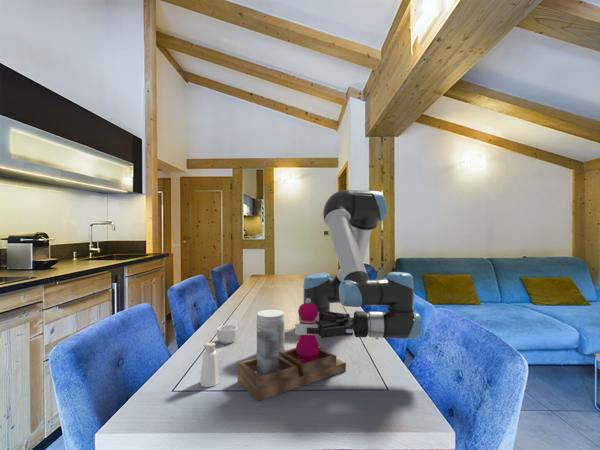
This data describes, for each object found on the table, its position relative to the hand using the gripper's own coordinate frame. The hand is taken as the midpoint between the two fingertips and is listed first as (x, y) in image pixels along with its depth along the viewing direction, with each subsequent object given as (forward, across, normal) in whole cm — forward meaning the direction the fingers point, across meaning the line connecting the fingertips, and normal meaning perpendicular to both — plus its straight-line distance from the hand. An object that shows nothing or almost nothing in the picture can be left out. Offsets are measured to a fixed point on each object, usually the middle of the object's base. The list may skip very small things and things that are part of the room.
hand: (297, 322), depth 100 cm
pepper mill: (-3, 0, -13) cm, 13 cm away
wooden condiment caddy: (+1, -3, -15) cm, 15 cm away
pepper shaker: (+24, -9, -15) cm, 30 cm away
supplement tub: (+10, +11, -15) cm, 22 cm away
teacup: (+29, +24, -15) cm, 41 cm away
